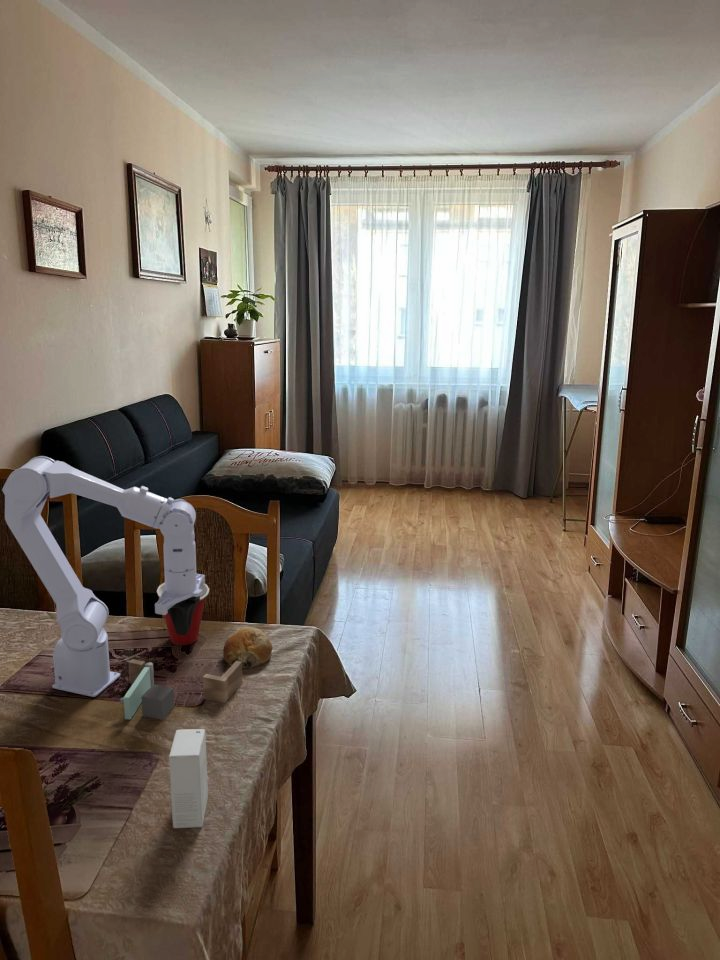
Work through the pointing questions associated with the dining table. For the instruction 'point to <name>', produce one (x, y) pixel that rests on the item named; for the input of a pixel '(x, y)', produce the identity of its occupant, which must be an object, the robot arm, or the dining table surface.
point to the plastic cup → (196, 620)
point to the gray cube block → (157, 702)
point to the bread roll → (247, 647)
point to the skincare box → (188, 778)
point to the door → (137, 690)
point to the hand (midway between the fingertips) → (182, 633)
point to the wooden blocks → (205, 681)
